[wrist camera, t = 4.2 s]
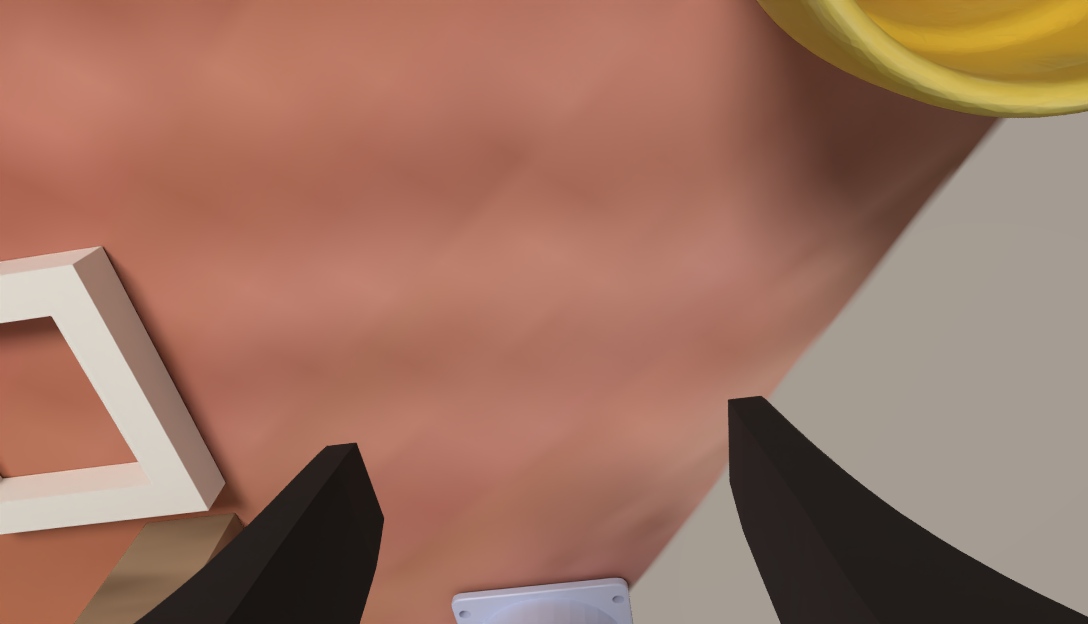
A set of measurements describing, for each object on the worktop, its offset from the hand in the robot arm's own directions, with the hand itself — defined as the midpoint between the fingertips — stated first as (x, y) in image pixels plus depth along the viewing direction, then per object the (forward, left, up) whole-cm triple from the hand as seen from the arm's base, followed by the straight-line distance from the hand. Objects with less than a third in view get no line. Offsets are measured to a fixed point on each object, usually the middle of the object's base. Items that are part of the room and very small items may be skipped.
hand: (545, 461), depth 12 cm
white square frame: (-3, +20, -10) cm, 23 cm away
